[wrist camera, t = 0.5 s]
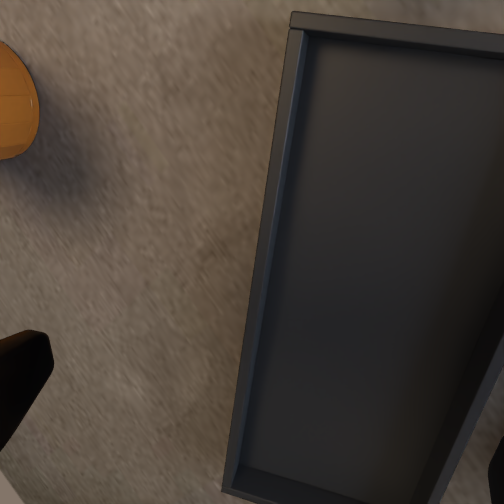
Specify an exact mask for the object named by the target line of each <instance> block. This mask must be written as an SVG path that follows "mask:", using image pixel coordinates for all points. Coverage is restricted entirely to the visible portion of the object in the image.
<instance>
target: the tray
mask: <svg viewBox="0 0 504 504" xmlns="http://www.w3.org/2000/svg"><path fill="white" fill-rule="evenodd" d="M289 27H290V28H291V29H289V31H288V38H287V45H286V52H285V59H284V65H283V72H282V79H281V86H280V93H279V100H278V106H277V113H276V120H275V127H274V134H273V141H272V147H271V154H270V161H269V168H268V175H267V182H266V188H265V195H264V202H263V209H262V216H261V223H260V229H259V236H258V243H257V250H256V257H255V264H254V270H253V277H252V284H251V291H250V298H249V305H248V311H247V318H246V325H245V332H244V339H243V346H242V352H241V359H240V366H239V373H238V380H237V387H236V393H235V400H234V407H233V414H232V421H231V428H230V434H229V441H228V448H227V455H226V462H225V469H224V475H223V482H222V489H221V492H223V493H226V494H229V495H233V496H236V497H239V498H242V499H245V500H248V501H251V502H254V503H257V504H439V503H440V501H441V499H442V496H443V494H444V492H445V490H446V488H447V486H448V484H449V481H450V479H451V477H452V475H453V473H454V471H455V468H456V466H457V464H458V462H459V460H460V458H461V456H462V453H463V451H464V449H465V447H466V445H467V443H468V441H469V438H470V436H471V434H472V432H473V430H474V428H475V425H476V423H477V421H478V419H479V417H480V415H481V413H482V410H483V408H484V406H485V404H486V402H487V400H488V397H489V395H490V393H491V391H492V389H493V387H494V385H495V382H496V380H497V378H498V376H499V374H500V372H501V370H502V367H503V365H504V34H496V33H487V32H478V31H469V30H460V29H451V28H442V27H433V26H424V25H415V24H407V23H398V22H389V21H380V20H371V19H362V18H353V17H344V16H335V15H326V14H317V13H308V12H299V11H292V12H291V18H290V24H289Z"/></svg>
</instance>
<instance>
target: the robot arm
mask: <svg viewBox="0 0 504 504" xmlns="http://www.w3.org/2000/svg"><path fill="white" fill-rule="evenodd" d="M53 368H54V358H53V354H52V349H51V345H50V340H49V337H48V335H47V334H46V333H44V332H39V331H34V330H25V331H22V332H19V333H17V334H14V335H12V336H9V337H6V338H4V339H1V340H0V452H1V450H2V449H3V448H4V446H5V445H6V443H7V442H8V441H9V439H10V438H11V436H12V435H13V433H14V432H15V430H16V429H17V427H18V426H19V424H20V423H21V421H22V420H23V418H24V416H25V415H26V413H27V412H28V410H29V408H30V407H31V405H32V404H33V402H34V400H35V399H36V397H37V396H38V394H39V393H40V391H41V389H42V388H43V386H44V385H45V383H46V381H47V380H48V378H49V377H50V375H51V373H52V371H53ZM488 480H489V488H490V495H491V502H492V504H504V436H503V437H502V439H501V441H500V443H499V445H498V447H497V449H496V451H495V453H494V455H493V457H492V460H491V462H490V464H489V468H488Z"/></svg>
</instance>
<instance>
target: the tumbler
mask: <svg viewBox="0 0 504 504" xmlns="http://www.w3.org/2000/svg"><path fill="white" fill-rule="evenodd" d="M39 117H40V112H39V101H38V96H37V92H36V89H35V86H34V83H33V80H32V78H31V76H30V74H29V72H28V70H27V69H26V67H25V65H24V64H23V62H22V61H21V60H20V58H19V57H18V56H17V55H16V54H15V53H14V52H13V51H12V50H11V49H10V48H9V47H8V46H7V45H5V44H4V43H3V42H1V41H0V161H2V160H6V159H11V158H14V157H17V156H19V155H20V154H22V153H23V152H24V151H26V150H27V149H28V147H29V146H30V145H31V144H32V142H33V140H34V138H35V136H36V133H37V130H38V125H39Z"/></svg>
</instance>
